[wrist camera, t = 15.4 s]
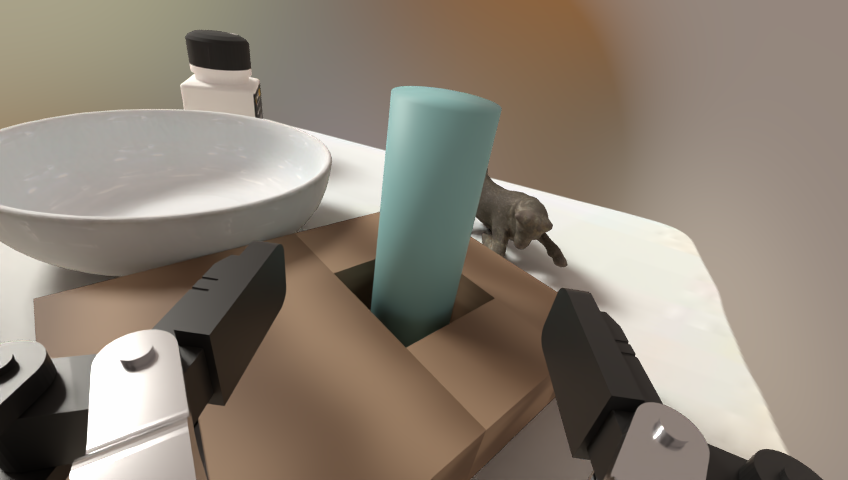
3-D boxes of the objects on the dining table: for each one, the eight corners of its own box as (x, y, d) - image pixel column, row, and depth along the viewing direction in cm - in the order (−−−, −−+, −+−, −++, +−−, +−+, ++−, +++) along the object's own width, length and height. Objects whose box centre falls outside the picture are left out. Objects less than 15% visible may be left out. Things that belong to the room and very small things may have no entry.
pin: (400, 383, 20) (445, 116, 13) (353, 330, 23) (369, 85, 15) (459, 346, 23) (523, 111, 16) (411, 303, 26) (447, 86, 18)
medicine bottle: (260, 154, 44) (250, 40, 38) (191, 151, 42) (168, 30, 36) (264, 135, 50) (256, 33, 44) (203, 131, 48) (186, 24, 42)
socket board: (123, 815, 9) (63, 802, 7) (65, 361, 18) (33, 298, 16) (580, 372, 22) (606, 323, 20) (411, 244, 32) (417, 202, 30)
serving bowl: (381, 250, 31) (389, 171, 27) (25, 398, 17) (-54, 274, 13) (258, 164, 42) (253, 100, 38) (-17, 209, 28) (-67, 115, 24)
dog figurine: (427, 222, 36) (439, 146, 32) (472, 213, 39) (488, 143, 35) (516, 296, 28) (547, 207, 24) (564, 277, 31) (598, 196, 27)
